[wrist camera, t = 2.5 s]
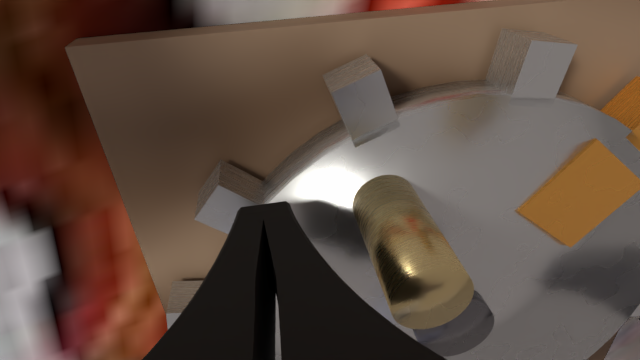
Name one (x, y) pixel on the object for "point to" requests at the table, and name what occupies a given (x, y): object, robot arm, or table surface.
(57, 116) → the table surface
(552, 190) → the sprocket wheel
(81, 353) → the table surface
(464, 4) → the base
